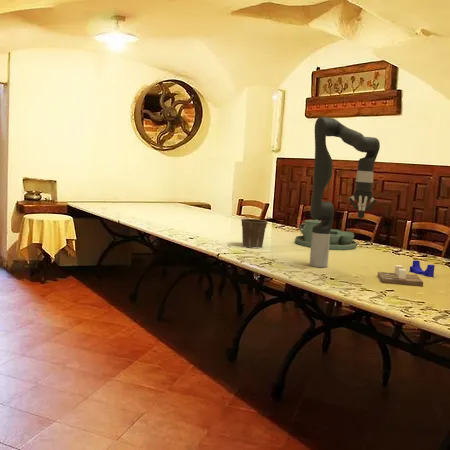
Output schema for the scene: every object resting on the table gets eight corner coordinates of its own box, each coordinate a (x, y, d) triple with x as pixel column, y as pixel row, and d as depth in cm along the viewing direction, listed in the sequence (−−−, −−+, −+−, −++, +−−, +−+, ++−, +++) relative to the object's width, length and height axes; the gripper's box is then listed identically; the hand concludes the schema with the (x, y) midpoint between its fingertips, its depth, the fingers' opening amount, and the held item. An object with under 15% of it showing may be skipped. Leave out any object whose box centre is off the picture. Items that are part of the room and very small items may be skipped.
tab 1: (394, 273, 246) (395, 265, 245) (400, 273, 245) (401, 265, 245) (395, 274, 243) (396, 266, 242) (402, 275, 243) (402, 266, 242)
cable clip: (409, 272, 264) (410, 260, 263) (416, 271, 265) (417, 260, 265) (426, 277, 253) (427, 265, 252) (433, 277, 254) (434, 265, 253)
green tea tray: (354, 253, 312) (356, 226, 310) (289, 246, 325) (291, 220, 322) (358, 244, 350) (360, 220, 348) (300, 238, 362) (302, 215, 360)
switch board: (377, 275, 249) (377, 271, 249) (416, 279, 246) (416, 274, 246) (381, 282, 234) (382, 278, 234) (422, 286, 231) (423, 281, 231)
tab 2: (397, 277, 237) (398, 268, 237) (404, 277, 237) (405, 269, 236) (398, 278, 234) (399, 270, 234) (405, 279, 234) (406, 270, 233)
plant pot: (271, 248, 312) (273, 221, 310) (251, 249, 302) (252, 222, 300) (254, 243, 325) (255, 218, 323) (234, 245, 315) (235, 219, 313)
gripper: (378, 181, 238) (374, 218, 241) (349, 179, 240) (345, 216, 242) (380, 182, 231) (376, 220, 233) (350, 180, 233) (346, 218, 235)
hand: (360, 218), depth 238 cm, fingers closed
